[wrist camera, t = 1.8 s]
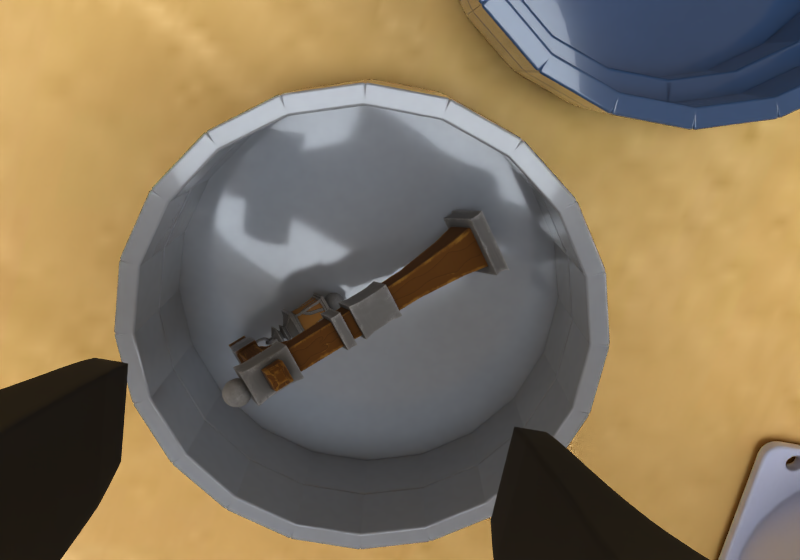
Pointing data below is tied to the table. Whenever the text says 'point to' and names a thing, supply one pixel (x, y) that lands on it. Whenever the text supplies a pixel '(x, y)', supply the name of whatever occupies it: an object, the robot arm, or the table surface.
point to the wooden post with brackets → (358, 311)
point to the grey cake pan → (347, 275)
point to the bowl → (654, 55)
